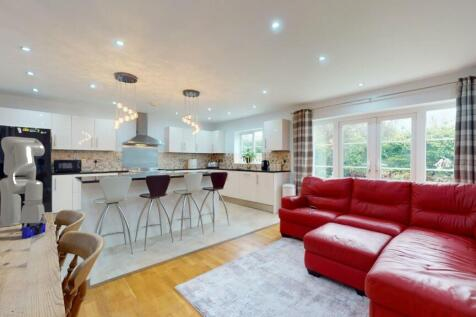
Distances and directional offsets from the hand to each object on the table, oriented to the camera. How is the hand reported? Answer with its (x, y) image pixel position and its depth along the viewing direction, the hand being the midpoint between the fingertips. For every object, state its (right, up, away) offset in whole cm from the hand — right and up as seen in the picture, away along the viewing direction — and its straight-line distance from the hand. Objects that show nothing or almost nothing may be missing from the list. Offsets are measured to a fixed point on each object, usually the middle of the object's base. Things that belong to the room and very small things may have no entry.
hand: (32, 233), depth 129 cm
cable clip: (0, -1, 0) cm, 1 cm away
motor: (-12, -1, +11) cm, 17 cm away
